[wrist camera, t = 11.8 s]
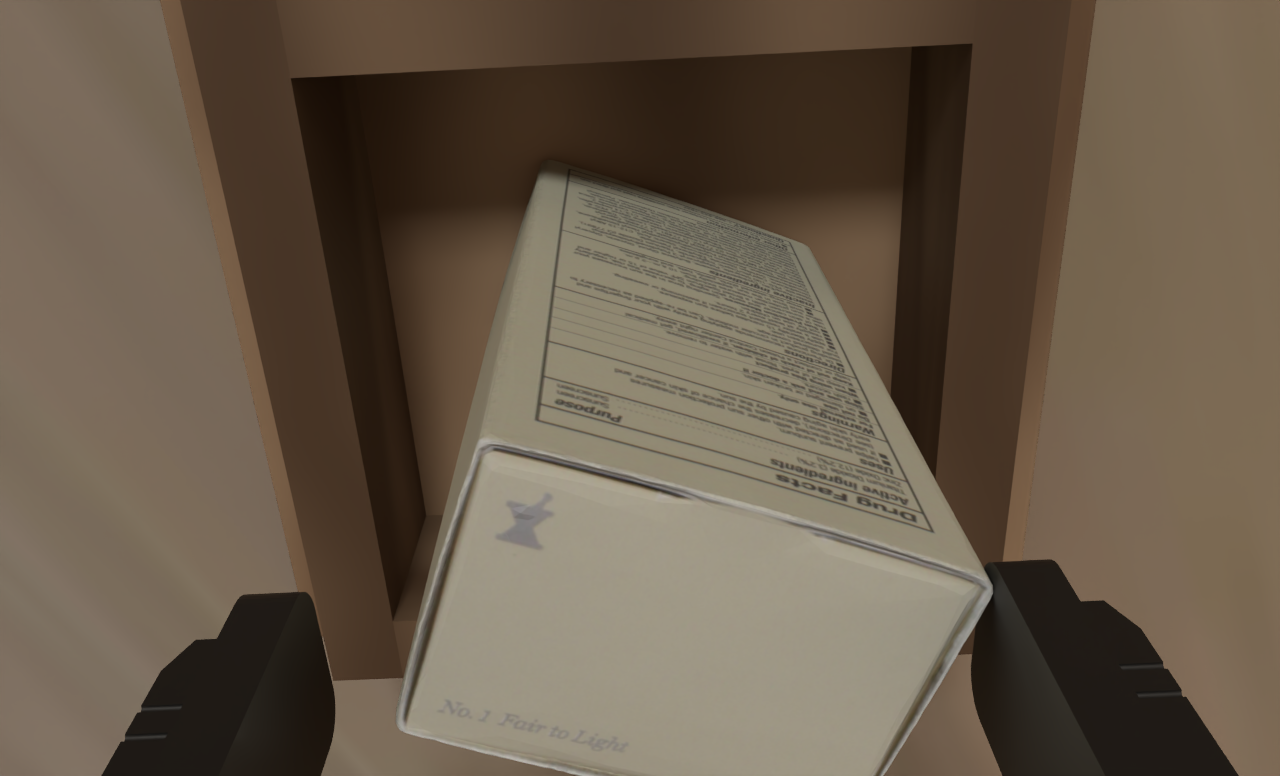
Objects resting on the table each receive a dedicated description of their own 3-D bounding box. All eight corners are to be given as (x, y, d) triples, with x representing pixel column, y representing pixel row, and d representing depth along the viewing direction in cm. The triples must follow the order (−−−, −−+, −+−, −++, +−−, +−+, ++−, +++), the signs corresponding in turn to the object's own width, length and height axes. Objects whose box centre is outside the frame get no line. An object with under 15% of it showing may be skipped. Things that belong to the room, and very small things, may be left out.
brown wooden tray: (319, 612, 28) (259, 754, 24) (147, -150, 20) (10, -152, 16) (1003, 583, 28) (1074, 721, 23) (1101, -202, 20) (1236, -220, 16)
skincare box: (488, 333, 24) (363, 737, 13) (546, 143, 22) (458, 426, 11) (752, 414, 25) (847, 856, 14) (829, 239, 23) (1009, 587, 12)
